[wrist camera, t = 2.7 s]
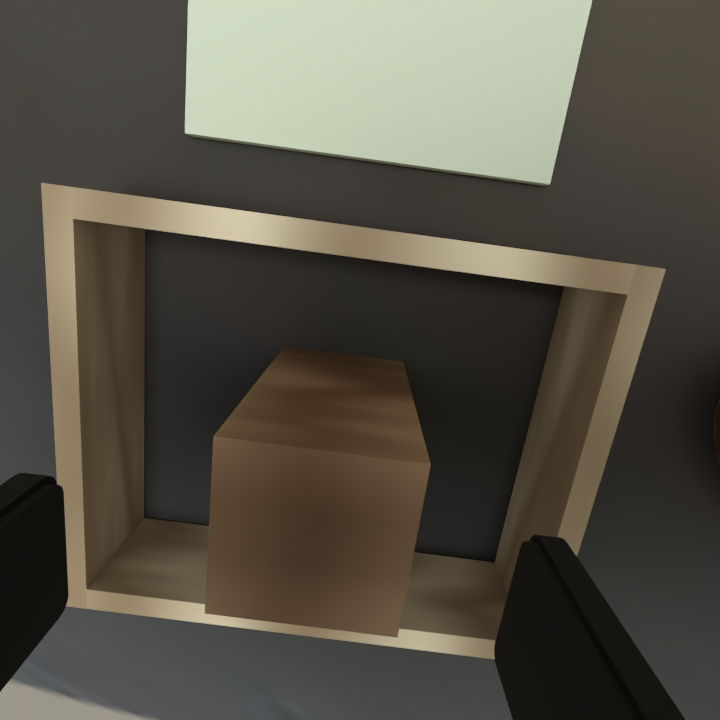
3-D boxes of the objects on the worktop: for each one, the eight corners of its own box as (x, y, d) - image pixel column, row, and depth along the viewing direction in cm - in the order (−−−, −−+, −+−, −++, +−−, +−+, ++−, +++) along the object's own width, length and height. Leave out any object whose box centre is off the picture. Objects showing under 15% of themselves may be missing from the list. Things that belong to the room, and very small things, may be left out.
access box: (593, 261, 16) (666, 269, 12) (509, 580, 19) (543, 665, 16) (122, 196, 16) (41, 182, 12) (125, 531, 19) (63, 605, 15)
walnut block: (403, 361, 17) (430, 464, 9) (385, 467, 18) (396, 637, 10) (284, 345, 17) (213, 436, 9) (275, 453, 18) (204, 613, 10)
